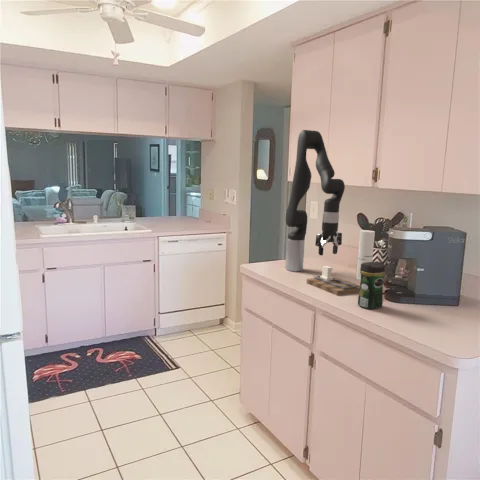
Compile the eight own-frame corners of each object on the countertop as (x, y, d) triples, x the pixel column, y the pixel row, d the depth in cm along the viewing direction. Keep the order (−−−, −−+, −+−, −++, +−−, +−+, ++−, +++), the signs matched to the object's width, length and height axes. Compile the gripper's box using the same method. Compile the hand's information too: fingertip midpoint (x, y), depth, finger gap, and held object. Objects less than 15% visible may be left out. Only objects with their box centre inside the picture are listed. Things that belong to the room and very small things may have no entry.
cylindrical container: (371, 281, 206) (375, 232, 202) (356, 280, 208) (360, 231, 204) (369, 277, 213) (374, 230, 209) (355, 276, 215) (359, 229, 211)
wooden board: (306, 283, 199) (306, 277, 199) (331, 279, 207) (332, 274, 206) (337, 295, 180) (337, 289, 180) (363, 291, 188) (364, 285, 187)
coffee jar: (370, 302, 172) (374, 259, 169) (385, 307, 165) (389, 263, 162) (353, 304, 168) (357, 260, 165) (368, 310, 161) (372, 264, 158)
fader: (319, 278, 199) (320, 266, 198) (326, 277, 201) (326, 265, 200) (326, 281, 195) (327, 268, 194) (332, 280, 197) (333, 267, 196)
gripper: (336, 219, 200) (333, 251, 203) (313, 220, 193) (311, 253, 196) (347, 221, 194) (344, 255, 197) (323, 222, 187) (321, 257, 190)
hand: (327, 254), depth 196 cm, fingers open, 8 cm apart
